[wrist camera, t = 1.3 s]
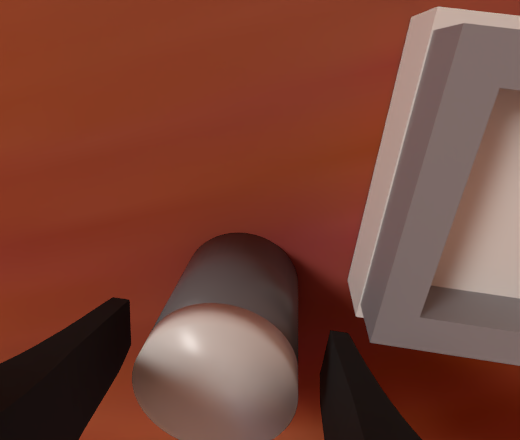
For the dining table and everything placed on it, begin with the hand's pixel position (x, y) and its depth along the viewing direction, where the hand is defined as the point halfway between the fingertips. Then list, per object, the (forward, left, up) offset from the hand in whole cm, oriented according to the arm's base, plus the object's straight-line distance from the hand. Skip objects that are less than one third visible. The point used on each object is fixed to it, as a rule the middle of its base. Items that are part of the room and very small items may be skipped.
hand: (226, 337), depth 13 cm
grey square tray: (+6, -9, -4) cm, 11 cm away
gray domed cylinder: (0, 0, -4) cm, 4 cm away
